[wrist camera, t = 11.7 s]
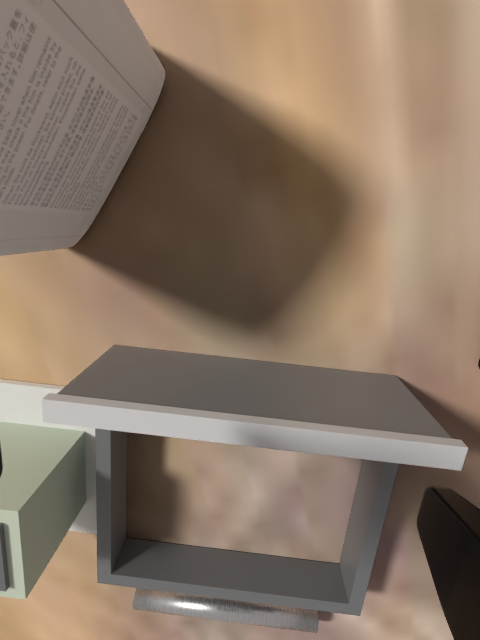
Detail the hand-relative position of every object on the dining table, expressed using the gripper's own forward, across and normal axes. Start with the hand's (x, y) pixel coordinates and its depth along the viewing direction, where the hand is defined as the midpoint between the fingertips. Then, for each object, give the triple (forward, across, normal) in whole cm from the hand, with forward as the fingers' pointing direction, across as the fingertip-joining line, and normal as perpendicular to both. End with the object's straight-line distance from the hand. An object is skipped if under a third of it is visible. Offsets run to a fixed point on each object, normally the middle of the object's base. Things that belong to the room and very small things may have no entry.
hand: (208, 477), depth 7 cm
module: (+12, +11, +10) cm, 19 cm away
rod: (+12, -1, +20) cm, 23 cm away
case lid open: (+12, -1, +2) cm, 12 cm away
